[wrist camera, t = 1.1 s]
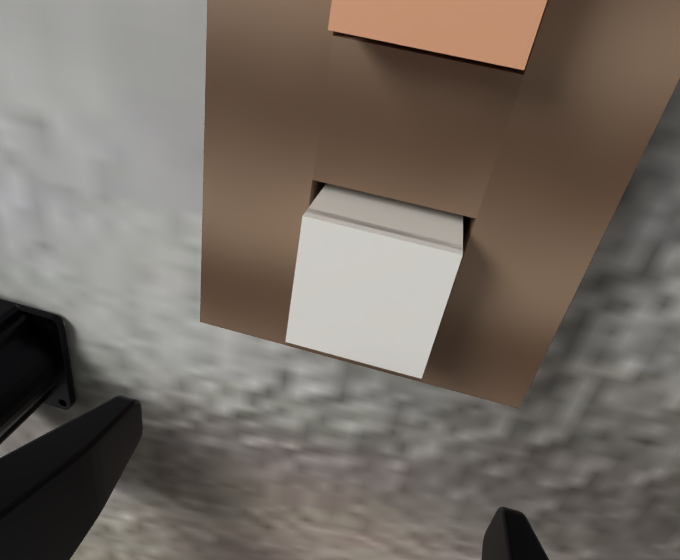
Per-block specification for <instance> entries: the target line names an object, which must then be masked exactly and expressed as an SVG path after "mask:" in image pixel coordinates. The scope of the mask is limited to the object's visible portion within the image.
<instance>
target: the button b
mask: <svg viewBox="0 0 680 560" xmlns="http://www.w3.org/2000/svg"><path fill="white" fill-rule="evenodd" d="M546 3H547V0H332V2H331V10H330V17H329V25H328V30H330V31H335V32H340V33H345V34H350V35H355V36H360V37H364V38H369V39H374V40H379V41H384V42H389V43H394V44H399V45H403V46H408V47H413V48H418V49H423V50H428V51H433V52H438V53H442V54H447V55H452V56H457V57H462V58H467V59H472V60H477V61H481V62H486V63H491V64H496V65H501V66H506V67H511V68H515V69H520V70H524V69H525V66H526V63H527V60H528V57H529V54H530V51H531V48H532V45H533V42H534V39H535V36H536V33H537V30H538V27H539V24H540V21H541V18H542V15H543V12H544V9H545V6H546Z"/></svg>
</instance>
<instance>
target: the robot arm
mask: <svg viewBox="0 0 680 560" xmlns="http://www.w3.org/2000/svg"><path fill="white" fill-rule="evenodd" d="M43 403H45V404H48V405H52V406H55V407H58V408H62V409H69V408H70V407H71V406H72V405H73V404H74V403H75V396H74V389H73V383H72V376H71V370H70V363H69V357H68V350H67V344H66V337H65V331H64V324H63V321H62V320H61V319H60V317H58V316H57V315H55V314H52V313H48V312H45V311H41V310H38V309H34V308H30V307H27V306H23V305H20V304H16V303H13V302H9V301H5V300H2V299H0V444H1V443H2V442H3V441H4V440H5V439H6V438H7V437H8V436H10V435H11V434H12V433H13V432H14V431H15V430H16V429H17V428H18V427H19V426H20V425H21V424H22V423H23V422H24V421H25V420H26V419H27V418H28V417H29V416H30V415H31V414H32V413H33V412H34V411H35V410H36V409H37V408H38V407H39V406H40V405H42V404H43ZM142 430H143V426H142V410H141V403H140V402H139V400H137V399H134V398H130V397H127V396H123V395H119V396H116V397H114V398H112V399H110V400H108V401H106V402H104V403H103V404H101V405H99V406H97V407H95V408H93V409H91V410H89V411H87V412H86V413H84V414H82V415H80V416H78V417H76V418H74V419H72V420H71V421H69V422H67V423H65V424H63V425H61V426H59V427H57V428H55V429H54V430H52V431H50V432H48V433H46V434H44V435H42V436H40V437H39V438H37V439H35V440H33V441H31V442H29V443H27V444H25V445H24V446H22V447H20V448H18V449H16V450H14V451H12V452H10V453H8V454H7V455H5V456H3V457H1V458H0V560H70V558H71V557H72V555H73V554H74V552H75V551H76V549H77V548H78V546H79V545H80V543H81V542H82V540H83V539H84V537H85V536H86V534H87V533H88V531H89V530H90V528H91V527H92V526H93V524H94V522H95V521H96V519H97V518H98V516H99V515H100V513H101V511H102V509H103V508H104V506H105V504H106V502H107V500H108V499H109V497H110V495H111V493H112V491H113V489H114V487H115V486H116V484H117V482H118V480H119V478H120V476H121V474H122V472H123V471H124V469H125V467H126V465H127V463H128V461H129V459H130V458H131V456H132V454H133V452H134V450H135V448H136V446H137V444H138V443H139V441H140V438H141V435H142ZM482 560H549V559H548V557H547V555H546V553H545V551H544V550H543V548H542V546H541V544H540V542H539V540H538V538H537V536H536V535H535V533H534V531H533V529H532V527H531V525H530V523H529V522H528V520H527V518H526V516H525V515H524V514H523V513H522V512H520V511H517V510H513V509H510V508H506V507H500V508H499V509H498V510H497V512H496V513H495V515H494V517H493V519H492V521H491V523H490V525H489V527H488V529H487V530H486V533H485V536H484V540H483V548H482Z"/></svg>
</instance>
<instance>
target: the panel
mask: <svg viewBox="0 0 680 560" xmlns="http://www.w3.org/2000/svg"><path fill="white" fill-rule="evenodd" d="M331 2H332V0H207V43H206V87H205V131H204V174H203V218H202V261H201V305H200V322H203V323H207V324H210V325H214V326H218V327H221V328H225V329H229V330H232V331H236V332H240V333H243V334H247V335H251V336H254V337H258V338H262V339H265V340H269V341H273V342H276V343H280V344H284V345H287V346H291V347H295V348H298V349H302V350H306V351H309V352H313V353H317V354H321V355H324V356H328V357H332V358H335V359H339V360H343V361H346V362H350V363H354V364H357V365H361V366H365V367H368V368H372V369H376V370H379V371H383V372H387V373H390V374H394V375H398V376H401V377H405V378H409V379H412V380H416V381H420V382H423V383H427V384H431V385H434V386H438V387H442V388H445V389H449V390H453V391H456V392H460V393H464V394H467V395H471V396H475V397H478V398H482V399H486V400H489V401H493V402H497V403H500V404H504V405H508V406H511V407H515V408H519V407H520V405H521V403H522V401H523V399H524V397H525V395H526V393H527V391H528V389H529V387H530V385H531V383H532V381H533V379H534V377H535V374H536V372H537V370H538V368H539V366H540V364H541V362H542V360H543V358H544V356H545V354H546V352H547V350H548V348H549V346H550V344H551V342H552V340H553V338H554V335H555V333H556V331H557V329H558V327H559V325H560V323H561V321H562V319H563V317H564V315H565V313H566V311H567V309H568V307H569V305H570V303H571V301H572V299H573V296H574V294H575V292H576V290H577V288H578V286H579V284H580V282H581V280H582V278H583V276H584V274H585V272H586V270H587V268H588V266H589V264H590V262H591V260H592V257H593V255H594V253H595V251H596V249H597V247H598V245H599V243H600V241H601V239H602V237H603V235H604V233H605V231H606V229H607V227H608V225H609V223H610V221H611V218H612V216H613V214H614V212H615V210H616V208H617V206H618V204H619V202H620V200H621V198H622V196H623V194H624V192H625V190H626V188H627V186H628V184H629V182H630V179H631V177H632V175H633V173H634V171H635V169H636V167H637V165H638V163H639V161H640V159H641V157H642V155H643V153H644V151H645V149H646V147H647V145H648V143H649V140H650V138H651V136H652V134H653V132H654V130H655V128H656V126H657V124H658V122H659V120H660V118H661V116H662V114H663V112H664V110H665V108H666V106H667V104H668V101H669V99H670V97H671V95H672V93H673V91H674V89H675V87H676V85H677V83H678V81H679V79H680V0H547V3H546V6H545V9H544V12H543V15H542V18H541V21H540V24H539V27H538V30H537V33H536V36H535V39H534V42H533V45H532V48H531V51H530V54H529V57H528V60H527V63H526V66H525V69H524V70H520V69H515V68H511V67H506V66H501V65H496V64H491V63H486V62H481V61H477V60H472V59H467V58H462V57H457V56H452V55H447V54H442V53H438V52H433V51H428V50H423V49H418V48H413V47H408V46H403V45H399V44H394V43H389V42H384V41H379V40H374V39H369V38H364V37H360V36H355V35H350V34H345V33H340V32H335V31H330V30H328V25H329V17H330V10H331ZM326 183H328V184H332V185H336V186H340V187H345V188H349V189H353V190H357V191H362V192H366V193H370V194H374V195H378V196H383V197H387V198H391V199H395V200H400V201H404V202H408V203H412V204H416V205H421V206H425V207H429V208H433V209H438V210H442V211H446V212H450V213H454V214H459V215H463V256H462V259H461V262H460V265H459V268H458V271H457V274H456V277H455V280H454V283H453V286H452V289H451V292H450V295H449V298H448V301H447V304H446V307H445V310H444V313H443V316H442V319H441V322H440V325H439V328H438V331H437V334H436V337H435V340H434V343H433V346H432V349H431V352H430V355H429V358H428V361H427V364H426V367H425V370H424V373H423V376H422V379H420V378H416V377H413V376H409V375H405V374H402V373H398V372H394V371H391V370H387V369H383V368H380V367H376V366H372V365H369V364H365V363H361V362H357V361H354V360H350V359H346V358H343V357H339V356H335V355H332V354H328V353H324V352H321V351H317V350H313V349H310V348H306V347H302V346H299V345H295V344H291V343H288V342H285V341H286V333H287V326H288V319H289V311H290V304H291V297H292V289H293V282H294V275H295V267H296V260H297V252H298V245H299V238H300V230H301V223H302V216H303V215H304V213H305V212H306V210H307V209H308V208H309V206H310V205H311V204H312V202H313V201H314V200H315V198H316V197H317V195H318V194H319V193H320V191H321V190H322V189H323V187H324V186H325V185H326Z"/></svg>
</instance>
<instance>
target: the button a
mask: <svg viewBox="0 0 680 560" xmlns="http://www.w3.org/2000/svg"><path fill="white" fill-rule="evenodd" d="M462 256H463V215H459V214H454V213H450V212H446V211H442V210H438V209H433V208H429V207H425V206H421V205H416V204H412V203H408V202H404V201H400V200H395V199H391V198H387V197H383V196H378V195H374V194H370V193H366V192H362V191H357V190H353V189H349V188H345V187H340V186H336V185H332V184H328V183H326V185H325V186H324V187H323V189H322V190H321V191H320V193H319V194H318V195H317V197H316V198H315V200H314V201H313V202H312V204H311V205H310V206H309V208H308V209H307V210H306V212H305V213H304V215H303V216H302V223H301V230H300V238H299V245H298V252H297V260H296V267H295V275H294V282H293V289H292V297H291V304H290V311H289V319H288V326H287V333H286V341H285V342H288V343H291V344H295V345H299V346H302V347H306V348H310V349H313V350H317V351H321V352H324V353H328V354H332V355H335V356H339V357H343V358H346V359H350V360H354V361H357V362H361V363H365V364H369V365H372V366H376V367H380V368H383V369H387V370H391V371H394V372H398V373H402V374H405V375H409V376H413V377H416V378H420V379H422V376H423V373H424V370H425V367H426V364H427V361H428V358H429V355H430V352H431V349H432V346H433V343H434V340H435V337H436V334H437V331H438V328H439V325H440V322H441V319H442V316H443V313H444V310H445V307H446V304H447V301H448V298H449V295H450V292H451V289H452V286H453V283H454V280H455V277H456V274H457V271H458V268H459V265H460V262H461V259H462Z"/></svg>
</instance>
